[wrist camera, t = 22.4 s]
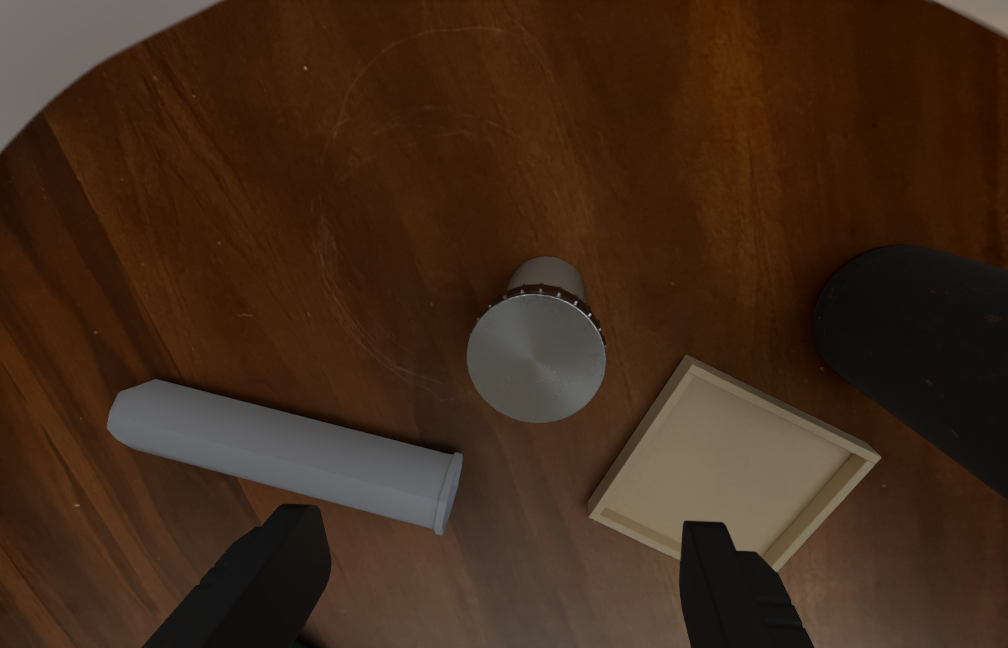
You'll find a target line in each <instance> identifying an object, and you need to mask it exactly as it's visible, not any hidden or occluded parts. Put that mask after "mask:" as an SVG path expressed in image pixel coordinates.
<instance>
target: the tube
mask: <svg viewBox="0 0 1008 648" xmlns="http://www.w3.org/2000/svg"><path fill="white" fill-rule="evenodd" d="M107 429H108V430H109V432H110V433H111V434H112V435H113V436H114V437H115V438H116V439H117V440H118V441H120V442H122V443H123V444H125V445H127V446H128V447H130V448H132V449H135V450H139V451H142V452H146V453H150V454H154V455H157V456H161V457H165V458H169V459H172V460H176V461H180V462H184V463H187V464H191V465H195V466H198V467H202V468H206V469H210V470H213V471H217V472H221V473H225V474H228V475H232V476H236V477H240V478H243V479H247V480H251V481H255V482H258V483H262V484H266V485H270V486H273V487H277V488H281V489H285V490H288V491H292V492H296V493H300V494H303V495H307V496H311V497H314V498H318V499H322V500H326V501H329V502H333V503H337V504H341V505H344V506H348V507H352V508H356V509H359V510H363V511H367V512H371V513H374V514H378V515H382V516H386V517H389V518H393V519H397V520H401V521H404V522H408V523H412V524H416V525H419V526H423V527H427V528H430V529H433V530H434V531H435V534H438V535H443V533H444V530H445V527H446V524H447V521H448V518H449V516H450V512H451V509H452V505H453V502H454V498H455V495H456V491H457V487H458V483H459V478H460V473H461V468H462V458H463V455H462V454H461V453H457V452H455V453H454V454H453V455H452V454H446V453H442V452H438V451H434V450H431V449H427V448H423V447H419V446H415V445H411V444H407V443H403V442H399V441H395V440H392V439H388V438H384V437H380V436H376V435H372V434H368V433H364V432H360V431H356V430H353V429H349V428H345V427H341V426H337V425H333V424H329V423H325V422H321V421H317V420H314V419H310V418H306V417H302V416H298V415H294V414H290V413H286V412H282V411H278V410H275V409H271V408H267V407H263V406H259V405H255V404H251V403H247V402H243V401H239V400H236V399H232V398H228V397H224V396H220V395H216V394H212V393H208V392H204V391H200V390H197V389H193V388H189V387H185V386H181V385H177V384H173V383H169V382H165V381H161V380H158V379H154V380H152V381H149V382H146V383H144V384H141V385H138V386H135V387H132V388H129V389H127V390H124V391H121V392H119V393H118V395H117V397H116V399H115V401H114V404H113V406H112V408H111V410H110V413H109V418H108V423H107Z"/></svg>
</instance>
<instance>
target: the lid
mask: <svg viewBox="0 0 1008 648" xmlns="http://www.w3.org/2000/svg"><path fill="white" fill-rule="evenodd" d="M477 320H478V322H477V323H476V325H474V327H473V329H472V331H471V332H470V338H469V342H468V346H467V366H468V371H469V374H470V377H471V380H472V382H473V384H474V386H475V388H476V389H477V391H478V392H479V394H480V395H481V396H482V398H483V399H484V400H485V401H486V402H487V403H488V404H489V405H490V406H492V407H493V408H494V409H496V410H497V411H499V412H500V413H502V414H504V415H506V416H508V417H511V418H513V419H516V420H520V421H524V422H530V423H546V422H552V421H557V420H560V419H563V418H566V417H568V416H570V415H573V414H574V413H576V412H577V411H579V410H580V409H582V408H583V407H584V406H585V405H587V403H588V402H589V401H590V400H591V399H592V398H593V397H594V395H595V394H596V392H597V391H598V389H599V387H600V385H601V383H602V380H603V377H604V373H605V368H606V364H607V361H606V353H605V347H606V342H605V337H604V336H602V333H601V326H600V321H599V320H597V319H596V318H595V316H594V314H593V313H592V311H591V308H590V306H587V305H586V304H585V303H584V302H583V301H582V300H580V299H579V298H578V297H577V294H575V295H573V294H572V293H570V292H568V291H566V290H563V289H561V286H559V287H555V286H551V285H544V284H543V283H541V284H530V285H526V284H523V285H522V286H519V287H515V288H513V289H510V290H509V289H506V291H505V292H504V293H503V294H501V295H499V296H498V297H497V298H495V299H494V298H493V299H492V300H491V302H490V304H489V305H488V306H487V307H486V309H485V310H484V311H483V310H482V311H481V313H480V314H479V316H478V318H477Z"/></svg>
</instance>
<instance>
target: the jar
mask: <svg viewBox="0 0 1008 648" xmlns="http://www.w3.org/2000/svg"><path fill="white" fill-rule="evenodd" d="M541 283H543V284H544V285H551V286H555V287H559V286H561V289H563V290H566V291H568V292H570V293H572V294H573V295H575V294H577V297H578V298H579V299H580V300H582V301H583V302H584V303H585V304H586V305H587V299H586V292H585V286H584V283H583V280H582V278H581V276H580V274H579V273H578V272H577V270H576V269H575V268H574V267H573V266H571V265H570V264H569V263H567V262H565V261H564V260H561V259H559V258H555V257H537V258H534V259H531V260H529V261H527V262H525V263H523V264H522V265H521V266H520V267H519V268H518V269H517V270H516V271H515V272H514V273H513V275H512V277H511V279H510V281H509V283H508V285H507V287H506V289H509V290H510V289H513V288H515V287H519V286H522V285H523V284H526V285H530V284H541ZM506 289H505V291H506ZM505 291H504V292H505Z"/></svg>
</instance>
